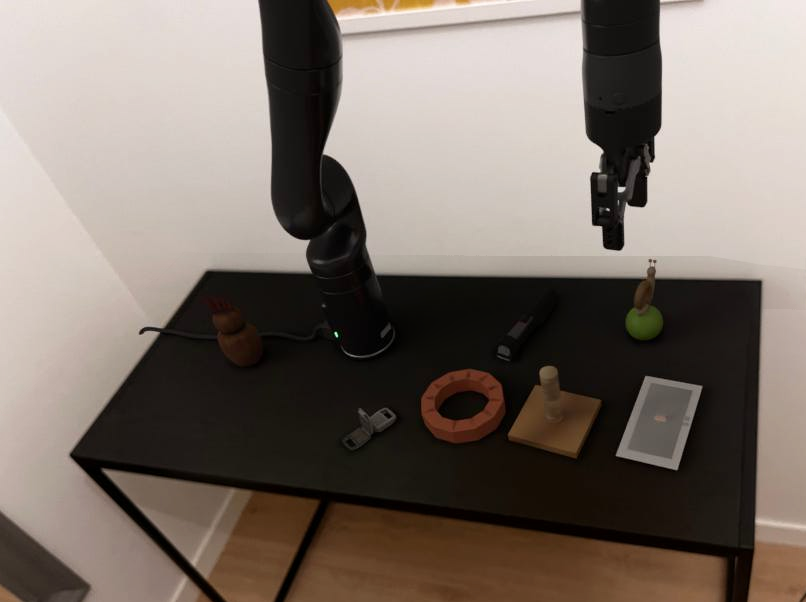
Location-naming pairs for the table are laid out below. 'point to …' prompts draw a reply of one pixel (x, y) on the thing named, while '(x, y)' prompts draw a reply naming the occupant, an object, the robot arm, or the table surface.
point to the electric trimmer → (525, 325)
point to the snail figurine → (645, 310)
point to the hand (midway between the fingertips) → (625, 226)
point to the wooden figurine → (235, 333)
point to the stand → (555, 417)
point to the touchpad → (660, 422)
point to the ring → (468, 427)
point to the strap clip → (369, 427)
